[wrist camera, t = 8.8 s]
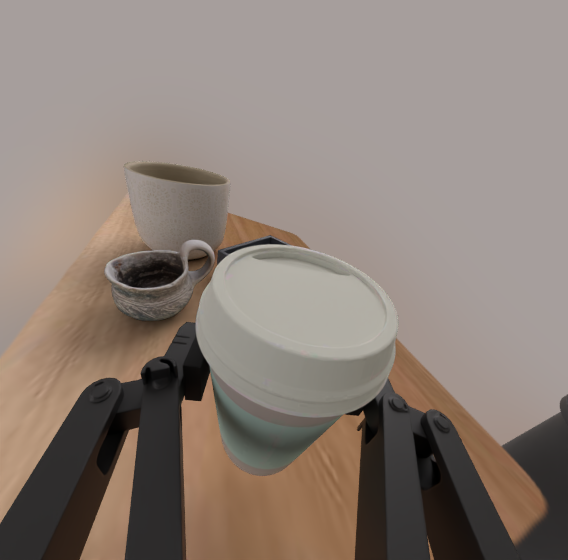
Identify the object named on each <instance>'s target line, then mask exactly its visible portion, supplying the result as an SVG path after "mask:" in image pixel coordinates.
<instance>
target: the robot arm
mask: <svg viewBox="0 0 568 560" xmlns="http://www.w3.org/2000/svg"><path fill="white" fill-rule="evenodd" d="M209 374H210V366H209V364H208V362H207V361H206V359H205V357H204V355H203V353H202V351H201V349H200V346H199V344H198V340H197V336H196V323H191V322H186V323H185V324H184V325H183V326H181V327H180V328H179V330H178V332H177V334H176V336H175V337H174V339H173V341H172V343H171V345H170V347H169V348H168V350H167V352H166V354H165V356H163V357H157V358H154V359H152V360H151V361H149V362H148V363H147V364H146V365H145V366H144V367H143V368H142V371H141V377H142V379H140V380H136V381H131V382H125V383H120V381H119V380H117V379H115V378H105V379H101V380H98V381H96V382H94V383H92V384H91V385H90V386H88V387H87V388H86V389H85V390H84V391H83V392H82V394H81V395H80V397H79V398H78V400H77V401H76V403H75V405H74V406H73V408H72V409H71V411H70V413H69V414H68V416H67V417H66V419H65V421H64V422H63V424H62V426H61V427H60V429H59V430H58V432H57V434H56V435H55V437H54V438H53V440H52V442H51V443H50V445H49V446H48V448H47V450H46V451H45V453H44V454H43V456H42V458H41V459H40V461H39V462H38V464H37V466H36V467H35V469H34V470H33V472H32V474H31V475H30V477H29V479H28V480H27V482H26V483H25V485H24V487H23V488H22V490H21V491H20V493H19V495H18V496H17V498H16V499H15V501H14V503H13V504H12V506H11V507H10V509H9V511H8V512H7V514H6V515H5V517H4V519H3V520H2V522H1V523H0V560H79V559H80V556H81V554H82V551H83V549H84V546H85V543H86V541H87V538H88V536H89V533H90V530H91V528H92V525H93V523H94V520H95V517H96V515H97V512H98V510H99V507H100V504H101V502H102V499H103V497H104V494H105V491H106V489H107V486H108V484H109V481H110V478H111V476H112V473H113V471H114V468H115V465H116V463H117V460H118V458H119V455H120V452H121V450H122V447H123V445H124V442H125V439H126V437H127V434H128V431H129V430H130V429H134V428H138V427H139V432H138V442H137V451H136V460H135V469H134V479H133V488H132V497H131V507H130V516H129V525H128V534H127V544H126V553H125V560H186V539H185V507H184V475H183V443H182V410H181V403H182V401H183V398H184V395H185V400H193V401H201V399H202V396H203V393H204V390H205V386H206V383H207V380H208V377H209ZM362 411H364V415H365V418H364V420H363V421H362V422H361V423H360V425H359V426H358V428H357V430H358V431H360V429H361V428H362V440H361V458H360V475H359V493H358V511H357V528H356V546H355V560H430V553H429V546H428V539H429V543H430V546H431V550H432V553H433V557H434V560H521V558H520V556H519V554H518V552H517V550H516V548H515V546H514V544H513V542H512V540H511V538H510V536H509V534H508V532H507V530H506V528H505V526H504V524H503V523H502V521H501V519H500V517H499V515H498V513H497V511H496V509H495V507H494V505H493V503H492V501H491V499H490V497H489V495H488V493H487V491H486V489H485V487H484V485H483V483H482V481H481V479H480V477H479V475H478V473H477V471H476V469H475V467H474V465H473V463H472V461H471V459H470V457H469V455H468V453H467V451H466V449H465V447H464V445H463V443H462V441H461V439H460V437H459V435H458V433H457V431H456V429H455V427H454V425H453V424H452V422H451V421H450V420H449V419H448V418H447V417H446V416H445V415H444V414H442V413H441V412H439V411H437V410H432V409H430V410H429V411H427V412H426V413H423V412H421V411H419V410H416V409H414V408H412V407H410V406H408V404H407V403H406V401H405V400H404V399H403V398H402V397H401V396H399V395H398V394H396V393H395V392H394V390H393V388H392V386H391V383H390V381H389V379H387V381H386V383H385V385H384V387H383V388H382V390H381V391H380V393H379V394H378V395H377V396H376V397H375V398H374V399H373V400H371V401H370V402H369V403H367V404H366V405H364V406H363V407H361V408H359V409H357V410H354V411H352V412H349V413H346V415H356V416H359V415H360V413H361V412H362ZM433 455H434V456H433ZM434 457H435V458H434ZM427 536H428V539H427Z"/></svg>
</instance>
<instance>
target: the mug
mask: <svg viewBox="0 0 568 560" xmlns="http://www.w3.org/2000/svg"><path fill="white" fill-rule="evenodd" d="M193 250H201V251H204V252H205V253H206V254H207V255H208V259H207V261H206V263H205V264H204V266H203V267H202V268H200V269H199V270H196V271H188V257H189V254H190V252H191V251H193ZM214 261H215V256H214V252H213V250H212V248H211V247H210V246H209V245H208V244H207V243H205V242H204V241H201V240H189V241H186V242H185V243H184V244H183V245H182V247H181V250H180V251H179V252H175V251H170V250H153V251H140V252H136V253H130V254H125V255H122V256H120V257H118V258H115V259H113V260H111V261H109V262H108V263H107V264H106V267H105V270H104V274H105V276H106V278H107V279H108V280H109V281H110V282H111V283H112V296H113V299H114V302H115V304H116V306H117V307H118V309H119V310H120V311H121V312H122V313H124V314H126V315H128V316H130V317H132V318H135V319H138V320H143V321H156V320H163V319H166V318H169V317H172V316H173V315H175V314H177V313H178V312H180V311H181V310H182V309H183V308H184V307H185V306H186V304H187V303H188V301H189V300H190V298H191V296H192V293H193V289H194V286H195V285H196V284H197V283H198V282H200V281H201V280H202V279H203V278H205V277H206V276H207V275H208V273H209V272H210V271H211V269H212V268H213V265H214Z"/></svg>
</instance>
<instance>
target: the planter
mask: <svg viewBox="0 0 568 560" xmlns="http://www.w3.org/2000/svg"><path fill="white" fill-rule="evenodd" d="M124 171H125V177H126V182H127V187H128V192H129V197H130V203H131V208H132V212H133V217H134V221H135V225H136V228H137V231H138V233H139V236H140V237H141V239H142V241H143V242H144V243H145V244H146V245H147V246H148V247H149V248H150V249H152V250H170V251H175V252H179V251H180V250H181V247H182V245H183V244H184V243H185V242H186V241H189V240H201V241H204V242H205V243H207V244H208V245H209V246H210V247H211V248H212V250H213V251H215V250H216V249H217V248H218V247H219V246H220V244H221V243H222V241H223V238H224V234H225V229H226V222H227V213H228V202H229V193H230V181H229V180H228V179H227V178H225V177H223V176H221V175H218V174H216V173H213V172H209V171H205V170H202V169H197V168H193V167H188V166H182V165H176V164H169V163H160V162H143V161H142V162H141V161H140V162H129V163H126V164H125V165H124ZM206 255H207V254H206V253H205V252H204V251H201V250H193V251H191V252H190V254H189V257H188V260H189V259H197V258H201V257H204V256H206Z"/></svg>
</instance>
